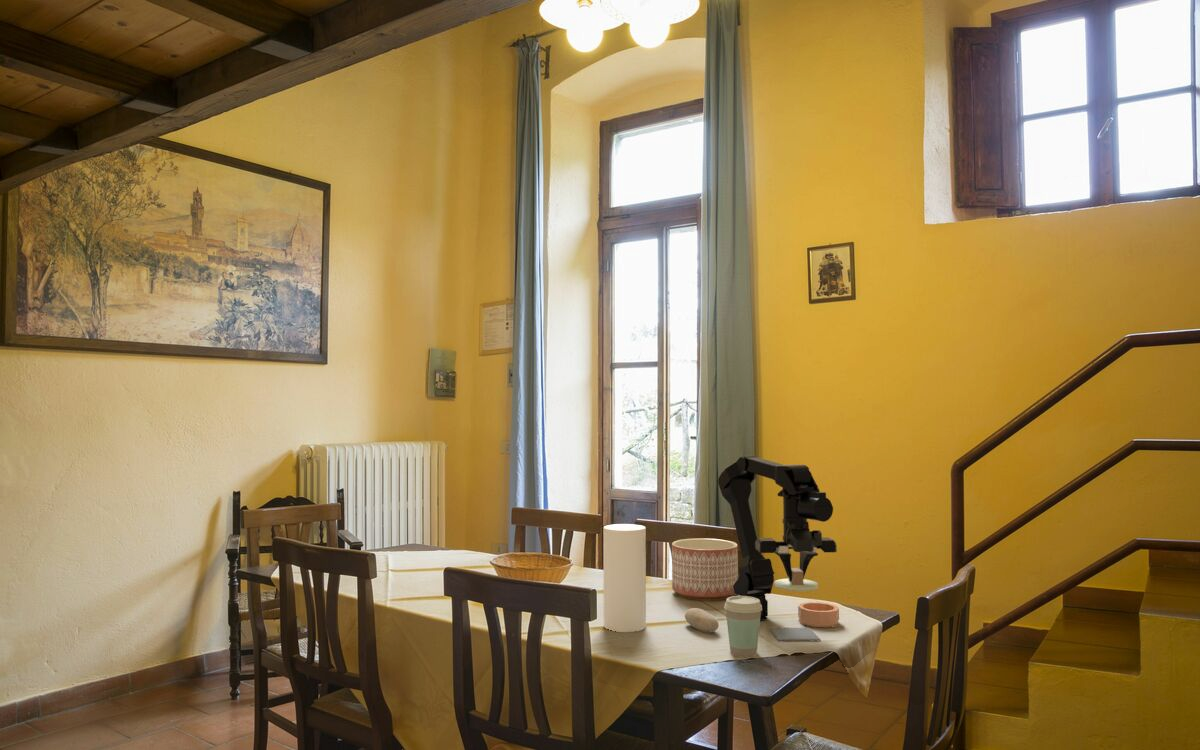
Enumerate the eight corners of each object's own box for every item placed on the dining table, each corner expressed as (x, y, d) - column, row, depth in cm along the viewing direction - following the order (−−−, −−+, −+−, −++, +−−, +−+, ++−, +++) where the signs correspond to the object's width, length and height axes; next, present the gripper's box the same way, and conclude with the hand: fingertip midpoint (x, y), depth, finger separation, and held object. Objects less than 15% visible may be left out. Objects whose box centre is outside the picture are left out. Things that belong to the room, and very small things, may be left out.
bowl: (804, 627, 204) (804, 611, 204) (794, 617, 214) (794, 602, 214) (843, 627, 204) (843, 611, 204) (832, 617, 214) (831, 602, 214)
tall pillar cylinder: (648, 631, 201) (648, 530, 201) (605, 632, 200) (605, 530, 201) (643, 620, 211) (642, 523, 212) (602, 621, 211) (602, 524, 211)
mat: (778, 641, 193) (778, 639, 193) (769, 629, 203) (769, 627, 203) (820, 641, 193) (820, 639, 193) (809, 629, 203) (809, 627, 203)
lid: (780, 591, 193) (780, 574, 194) (769, 581, 204) (769, 565, 204) (823, 591, 194) (823, 574, 194) (810, 581, 204) (810, 565, 204)
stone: (697, 611, 210) (726, 607, 201) (694, 636, 208) (724, 633, 198) (679, 606, 208) (708, 602, 198) (676, 631, 205) (706, 628, 196)
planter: (678, 585, 252) (678, 537, 252) (741, 589, 246) (740, 539, 247) (666, 599, 233) (666, 547, 234) (733, 604, 228) (733, 551, 228)
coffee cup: (754, 646, 189) (754, 594, 189) (768, 658, 180) (768, 603, 181) (719, 648, 187) (719, 596, 188) (731, 660, 179) (731, 605, 179)
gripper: (765, 521, 191) (766, 588, 190) (843, 520, 192) (844, 587, 191) (754, 515, 202) (755, 578, 202) (828, 514, 203) (829, 577, 202)
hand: (795, 580), depth 199 cm, fingers closed on lid, 2 cm apart
